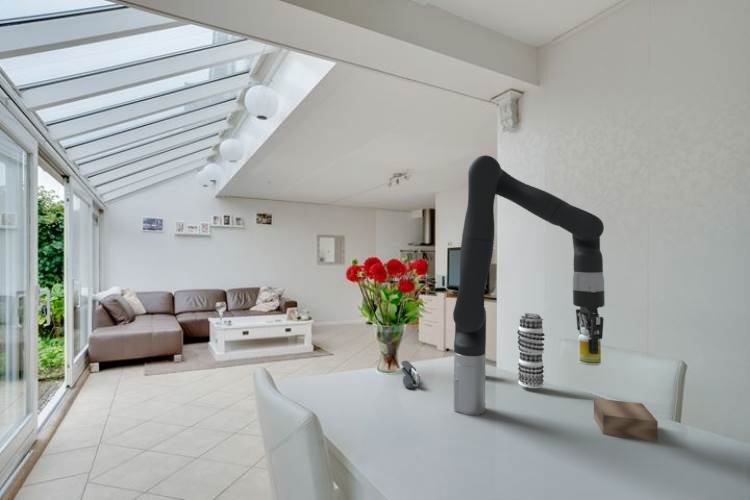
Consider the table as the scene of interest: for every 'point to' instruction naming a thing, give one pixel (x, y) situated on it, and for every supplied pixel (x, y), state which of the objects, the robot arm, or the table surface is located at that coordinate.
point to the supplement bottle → (587, 350)
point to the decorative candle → (530, 351)
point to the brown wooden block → (625, 419)
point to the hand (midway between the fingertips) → (589, 350)
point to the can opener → (410, 375)
